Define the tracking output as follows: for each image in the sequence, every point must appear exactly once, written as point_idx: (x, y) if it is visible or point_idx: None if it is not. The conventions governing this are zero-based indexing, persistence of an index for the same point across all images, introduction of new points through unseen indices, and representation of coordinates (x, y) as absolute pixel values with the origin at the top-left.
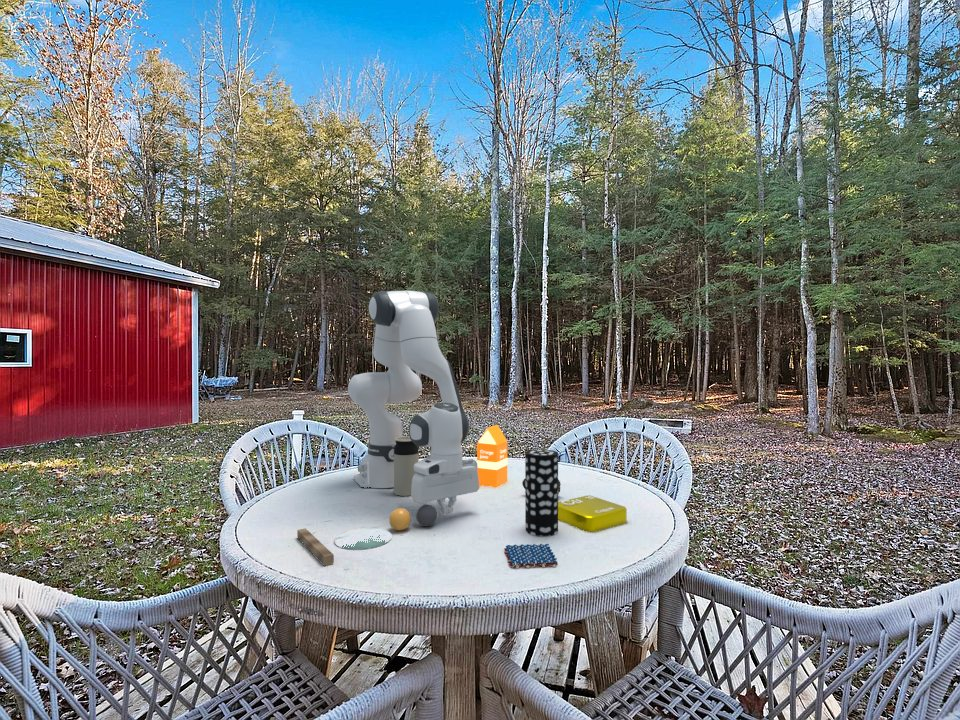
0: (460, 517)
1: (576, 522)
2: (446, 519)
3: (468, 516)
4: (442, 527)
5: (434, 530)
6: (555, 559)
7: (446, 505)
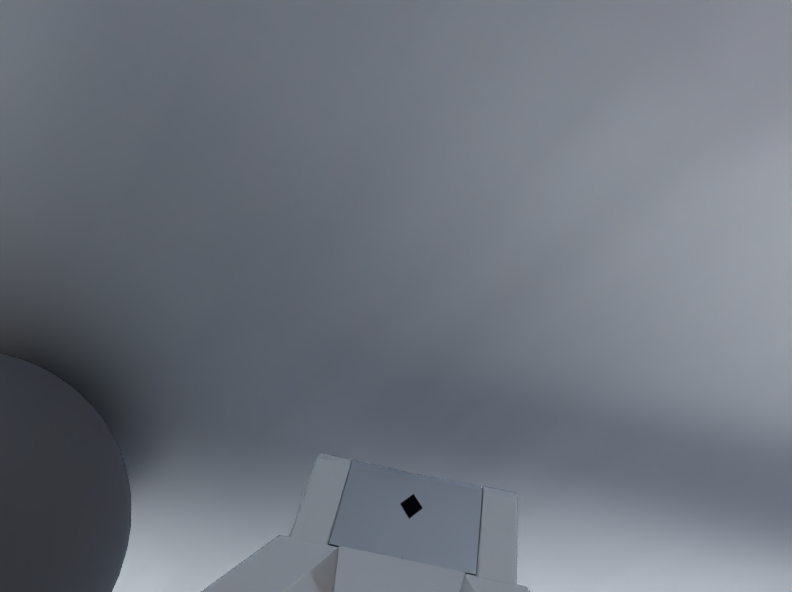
0: (628, 520)
1: None
2: (410, 436)
3: (746, 570)
4: (183, 562)
5: None
6: None
7: (439, 569)
